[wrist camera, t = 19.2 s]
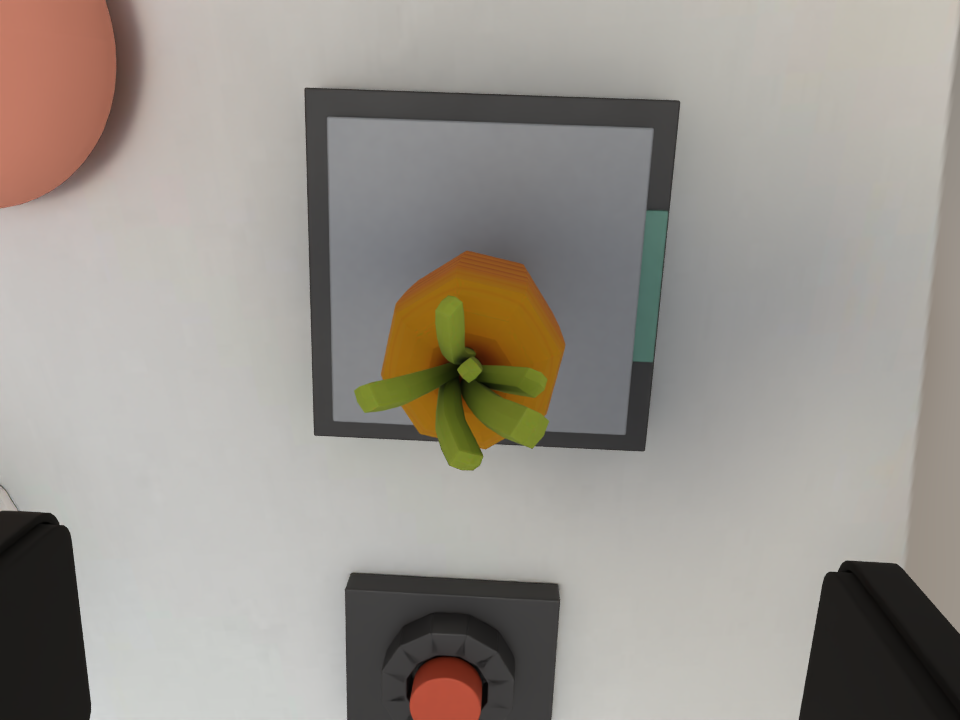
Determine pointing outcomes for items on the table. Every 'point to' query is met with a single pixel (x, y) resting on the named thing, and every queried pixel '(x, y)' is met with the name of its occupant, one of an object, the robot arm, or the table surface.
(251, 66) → the table surface
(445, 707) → the button
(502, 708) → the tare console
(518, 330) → the carrot
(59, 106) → the sugar bowl
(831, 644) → the robot arm
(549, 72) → the table surface
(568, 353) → the scale
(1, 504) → the patterned cylindrical tower
